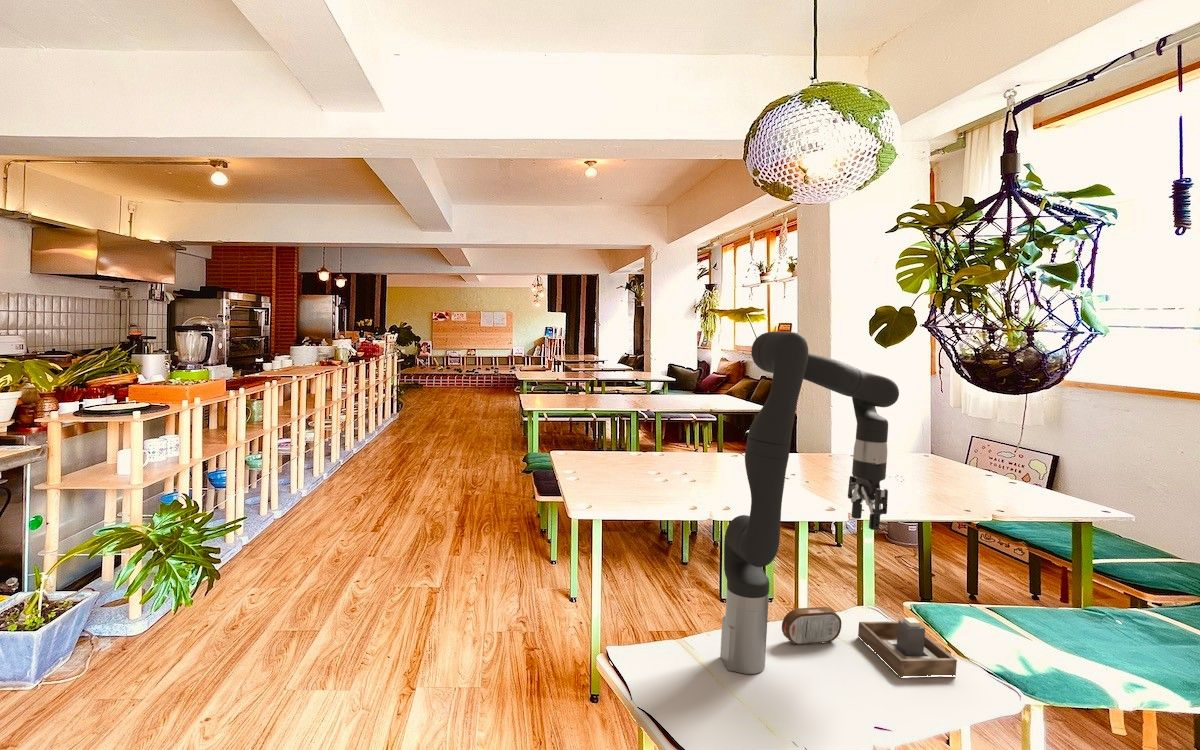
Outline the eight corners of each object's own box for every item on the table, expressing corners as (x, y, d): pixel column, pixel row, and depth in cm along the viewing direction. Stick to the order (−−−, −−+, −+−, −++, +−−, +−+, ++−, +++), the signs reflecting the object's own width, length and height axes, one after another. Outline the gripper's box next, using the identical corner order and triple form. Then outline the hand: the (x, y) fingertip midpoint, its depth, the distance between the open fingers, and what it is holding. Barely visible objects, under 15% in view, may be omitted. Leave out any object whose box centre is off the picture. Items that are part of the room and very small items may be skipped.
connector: (906, 662, 139) (908, 624, 138) (896, 653, 143) (898, 616, 142) (922, 662, 139) (925, 624, 139) (912, 653, 143) (915, 616, 143)
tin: (835, 637, 151) (837, 604, 151) (842, 643, 148) (844, 610, 148) (779, 641, 148) (781, 608, 148) (786, 648, 145) (788, 614, 145)
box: (900, 678, 134) (901, 660, 133) (857, 637, 152) (859, 621, 151) (955, 677, 135) (956, 660, 135) (907, 636, 153) (908, 621, 152)
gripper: (841, 452, 155) (836, 514, 156) (870, 464, 141) (864, 533, 142) (869, 453, 156) (864, 515, 157) (901, 465, 141) (895, 533, 143)
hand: (864, 523), depth 149 cm, fingers open, 8 cm apart
